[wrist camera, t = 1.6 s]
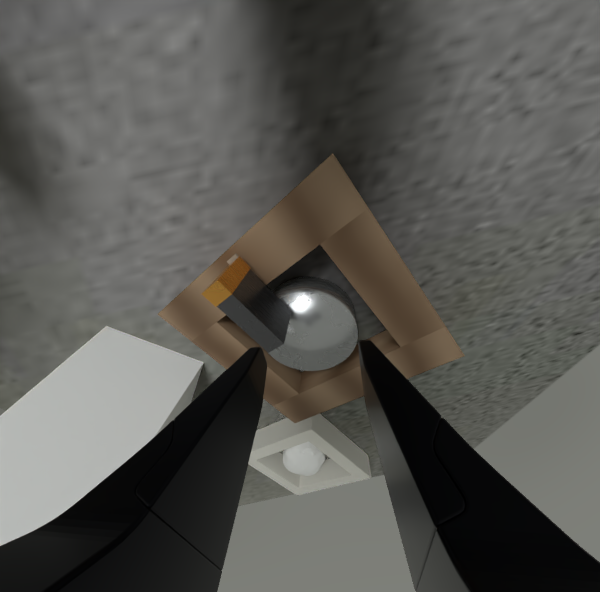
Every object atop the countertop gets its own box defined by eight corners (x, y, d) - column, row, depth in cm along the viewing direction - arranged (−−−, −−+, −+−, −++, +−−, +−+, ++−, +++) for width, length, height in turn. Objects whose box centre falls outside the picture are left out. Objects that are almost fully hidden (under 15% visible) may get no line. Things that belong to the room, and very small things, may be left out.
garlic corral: (312, 407, 31) (311, 429, 28) (368, 455, 36) (371, 477, 33) (243, 436, 36) (236, 456, 34) (299, 474, 41) (297, 495, 38)
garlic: (288, 422, 34) (284, 450, 30) (332, 432, 34) (333, 460, 31) (280, 450, 38) (276, 477, 35) (320, 458, 38) (320, 486, 35)
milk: (203, 362, 29) (-226, 1067, 6) (188, 410, 34) (-67, 872, 12) (106, 325, 27) (-921, 1090, 5) (107, 382, 33) (-361, 853, 10)
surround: (331, 154, 16) (332, 152, 14) (449, 334, 23) (465, 357, 20) (175, 298, 24) (156, 315, 21) (297, 401, 31) (294, 424, 28)
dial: (371, 325, 23) (389, 386, 17) (303, 361, 27) (295, 423, 20) (282, 215, 19) (260, 242, 12) (213, 276, 22) (168, 321, 16)
